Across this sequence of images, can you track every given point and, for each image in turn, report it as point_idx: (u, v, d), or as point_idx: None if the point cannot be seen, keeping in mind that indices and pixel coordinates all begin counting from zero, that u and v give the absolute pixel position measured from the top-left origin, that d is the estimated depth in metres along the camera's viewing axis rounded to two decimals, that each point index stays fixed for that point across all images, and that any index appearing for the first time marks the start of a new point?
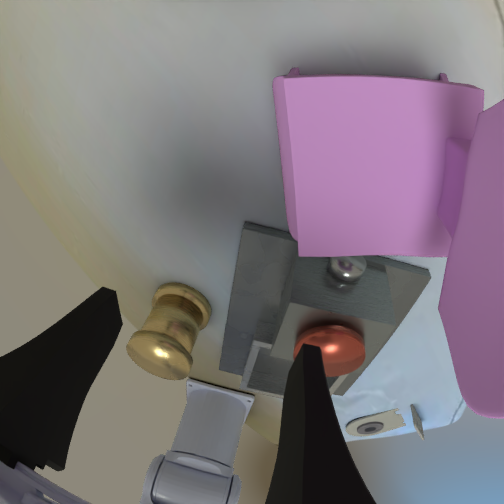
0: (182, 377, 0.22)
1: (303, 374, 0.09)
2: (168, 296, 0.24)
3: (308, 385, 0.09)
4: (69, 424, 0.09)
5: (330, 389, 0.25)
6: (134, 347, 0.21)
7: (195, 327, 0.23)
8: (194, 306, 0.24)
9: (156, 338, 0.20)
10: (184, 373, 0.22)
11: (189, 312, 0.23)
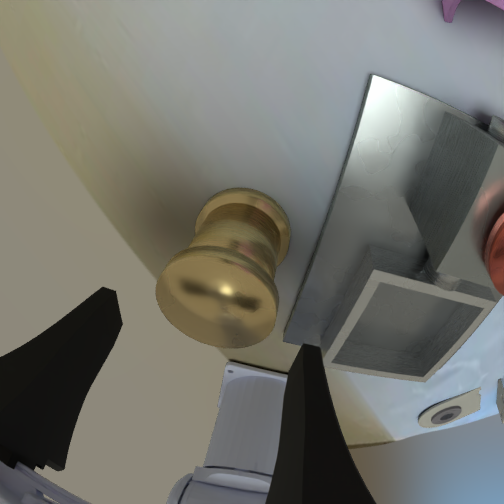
0: (256, 340, 0.13)
1: (303, 374, 0.09)
2: (229, 205, 0.15)
3: (308, 385, 0.09)
4: (69, 424, 0.09)
5: (447, 353, 0.16)
6: (173, 281, 0.12)
7: (276, 254, 0.15)
8: (271, 222, 0.15)
9: (222, 256, 0.11)
10: (264, 330, 0.13)
11: (266, 228, 0.15)
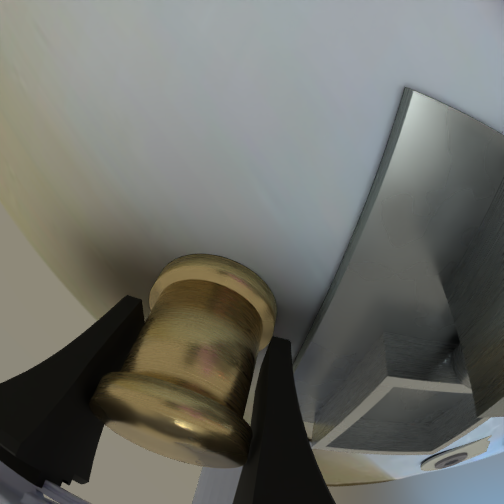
0: (224, 466, 0.09)
1: (268, 367, 0.09)
2: (187, 284, 0.11)
3: (273, 378, 0.09)
4: (94, 437, 0.09)
5: (461, 433, 0.12)
6: (107, 410, 0.07)
7: (252, 356, 0.10)
8: (248, 307, 0.11)
9: (162, 399, 0.07)
10: (233, 464, 0.08)
11: (239, 322, 0.10)
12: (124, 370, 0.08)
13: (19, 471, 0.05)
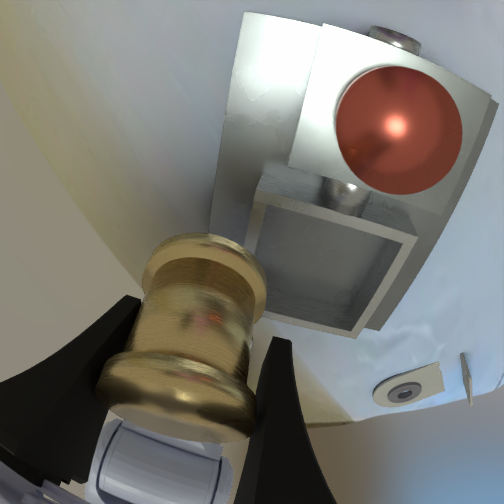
0: (233, 439, 0.09)
1: (269, 367, 0.09)
2: (179, 262, 0.11)
3: (274, 378, 0.09)
4: (94, 436, 0.09)
5: (371, 302, 0.17)
6: (114, 393, 0.08)
7: (249, 326, 0.11)
8: (239, 280, 0.11)
9: (169, 373, 0.07)
10: (242, 435, 0.09)
11: (233, 294, 0.10)
12: (127, 352, 0.08)
13: (18, 470, 0.05)
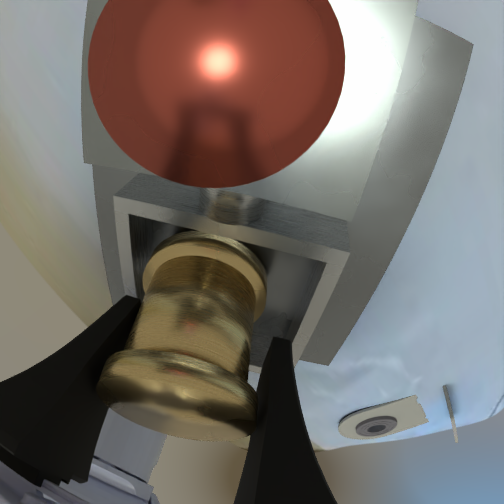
0: (234, 437, 0.09)
1: (270, 367, 0.09)
2: (179, 261, 0.11)
3: (274, 378, 0.09)
4: (93, 436, 0.09)
5: (297, 339, 0.13)
6: (115, 392, 0.08)
7: (249, 324, 0.11)
8: (239, 278, 0.11)
9: (169, 370, 0.07)
10: (243, 432, 0.09)
11: (233, 291, 0.10)
12: (127, 350, 0.09)
13: (18, 470, 0.05)
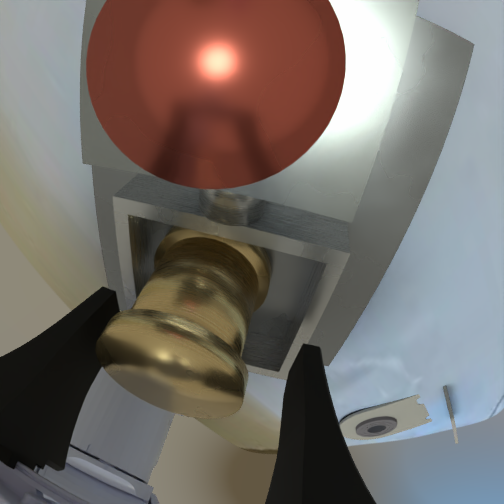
0: (223, 414, 0.10)
1: (303, 374, 0.09)
2: (188, 241, 0.12)
3: (308, 385, 0.09)
4: (69, 424, 0.09)
5: (297, 339, 0.13)
6: (112, 350, 0.09)
7: (248, 305, 0.11)
8: (243, 261, 0.12)
9: (163, 327, 0.08)
10: (230, 407, 0.09)
11: (235, 272, 0.11)
12: None
13: None
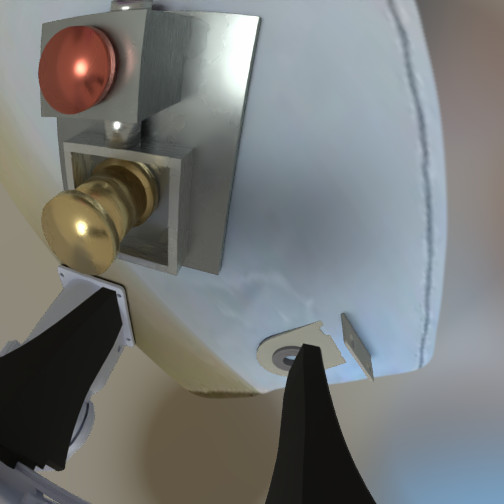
0: (106, 265, 0.16)
1: (303, 374, 0.09)
2: (104, 167, 0.18)
3: (308, 385, 0.09)
4: (69, 424, 0.09)
5: (170, 232, 0.19)
6: (48, 218, 0.14)
7: (130, 200, 0.17)
8: (133, 177, 0.18)
9: (70, 195, 0.14)
10: (107, 254, 0.15)
11: (125, 180, 0.17)
12: None
13: None
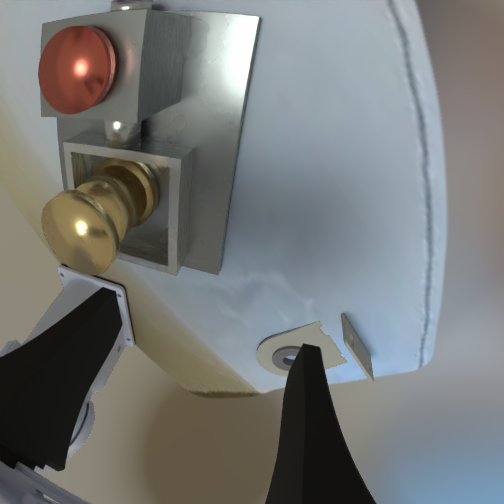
0: (106, 265, 0.16)
1: (303, 374, 0.09)
2: (104, 167, 0.18)
3: (308, 385, 0.09)
4: (69, 424, 0.09)
5: (170, 232, 0.19)
6: (48, 218, 0.14)
7: (130, 200, 0.17)
8: (133, 177, 0.18)
9: (70, 195, 0.14)
10: (107, 254, 0.15)
11: (125, 180, 0.17)
12: None
13: None
